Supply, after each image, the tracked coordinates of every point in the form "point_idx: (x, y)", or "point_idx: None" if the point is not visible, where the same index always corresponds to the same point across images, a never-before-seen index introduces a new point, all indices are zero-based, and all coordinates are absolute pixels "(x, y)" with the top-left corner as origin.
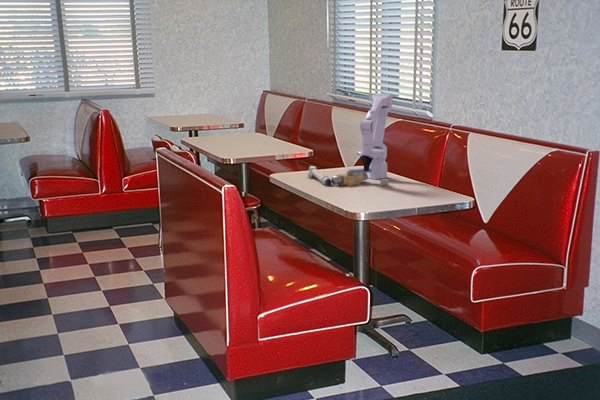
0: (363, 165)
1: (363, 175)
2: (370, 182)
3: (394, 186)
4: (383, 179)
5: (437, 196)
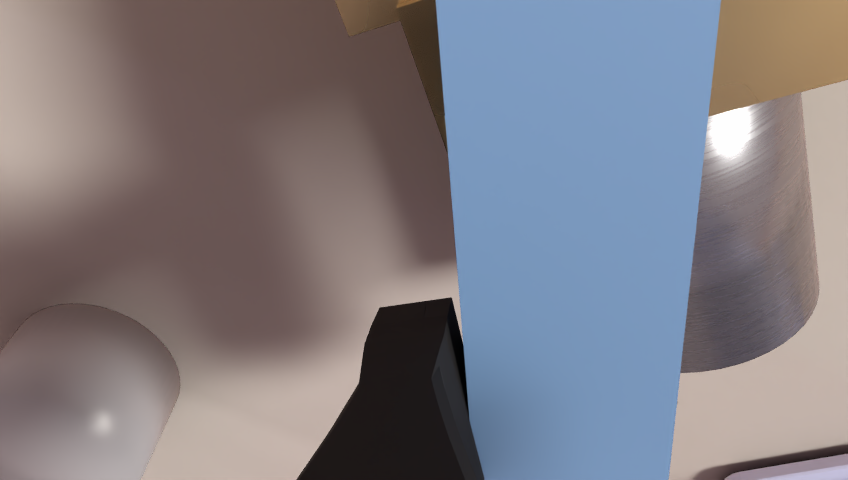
0: (443, 439)
1: None
2: None
3: None
4: (78, 460)
5: None
